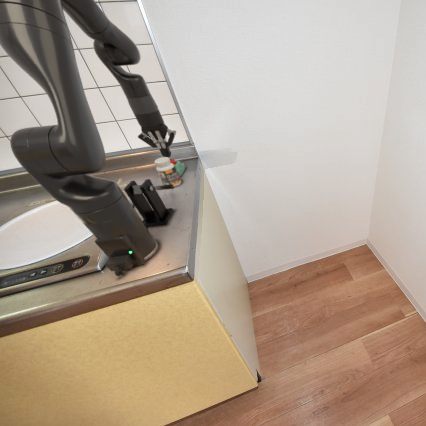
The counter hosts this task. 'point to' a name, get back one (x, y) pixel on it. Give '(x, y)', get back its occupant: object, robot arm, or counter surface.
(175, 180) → the pill bottle
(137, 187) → the lever
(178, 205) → the counter surface
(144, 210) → the bracket
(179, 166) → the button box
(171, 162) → the stop button
